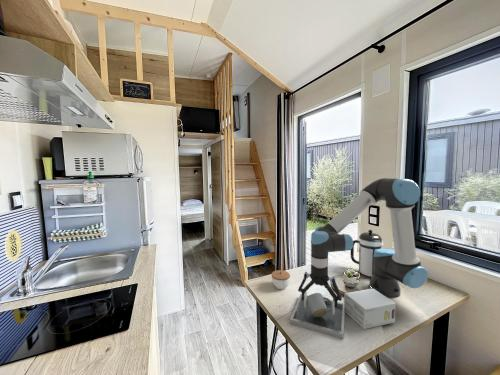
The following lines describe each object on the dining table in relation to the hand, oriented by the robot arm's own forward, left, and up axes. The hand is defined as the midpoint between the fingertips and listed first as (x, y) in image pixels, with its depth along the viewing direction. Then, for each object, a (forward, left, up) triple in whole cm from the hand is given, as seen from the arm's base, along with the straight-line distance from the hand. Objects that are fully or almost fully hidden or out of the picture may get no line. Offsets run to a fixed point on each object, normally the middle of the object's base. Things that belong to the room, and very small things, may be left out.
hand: (319, 309), depth 101 cm
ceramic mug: (-1, 0, -3) cm, 3 cm away
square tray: (0, 0, -3) cm, 3 cm away
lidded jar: (+24, -17, -3) cm, 30 cm away
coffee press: (-23, -54, -3) cm, 59 cm away
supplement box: (-21, -9, -3) cm, 23 cm away
